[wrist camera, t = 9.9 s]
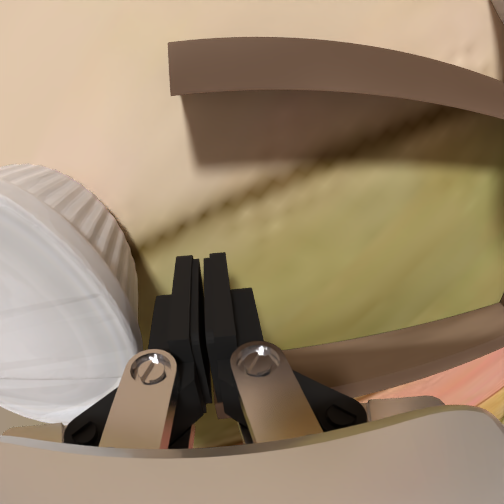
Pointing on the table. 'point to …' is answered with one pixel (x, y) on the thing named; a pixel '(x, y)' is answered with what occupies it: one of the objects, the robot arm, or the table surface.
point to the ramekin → (61, 296)
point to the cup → (499, 8)
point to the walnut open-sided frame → (365, 82)
